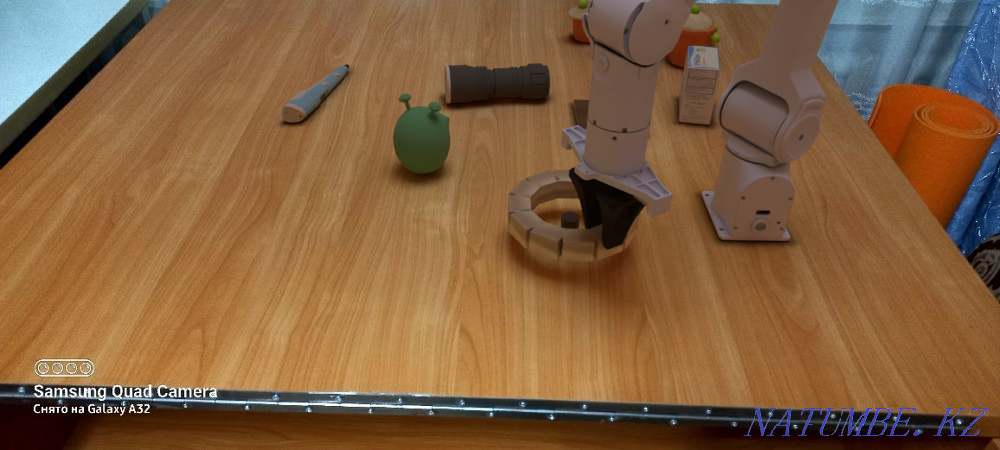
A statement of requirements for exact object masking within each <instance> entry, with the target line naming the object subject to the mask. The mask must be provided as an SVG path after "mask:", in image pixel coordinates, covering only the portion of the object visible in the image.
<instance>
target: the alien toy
mask: <svg viewBox="0 0 1000 450" xmlns="http://www.w3.org/2000/svg"><path fill="white" fill-rule="evenodd" d="M411 98H412V95H411V94H410V93H401V94H400V96H399V97H398V102H401V103H404V105H405V108H406V110H405V111H404V112H403V113H402V114H401V115H400V116H399V117H398V119H397V121H396V123H395V125H394V129H393V134H392V141H393V142H392V143H393V149H394V152H395V155H396V157H397V159H398V161H399V162H400V163H401V165H402V166H403V167H404V168H405V169H406V170H408V171H410V172H412V173H415V174H419V175H423V174H424V175H425V174H430V173H433V172H435V171H437V170H438V169H439V168H440V167H442V165H443V164H444V163H445V162H446V160H447V158H448V156H449V152H450V149H451V133H450V117H449V116H447V115H445V114H442V113H441V112H440V111H441V110H442V105H441V104H439V103H438V102H437V101H432V102H429V103H428V106H425V105H424V106H423V105H418V106H413V107H411V105H410V103H409V102H410V100H411Z"/></svg>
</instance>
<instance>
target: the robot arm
mask: <svg viewBox="0 0 1000 450" xmlns="http://www.w3.org/2000/svg"><path fill="white" fill-rule="evenodd" d="M697 1H698V0H590V1H589V4H588V5H587V7H588V10H587V12H586V13H585V14H583V15H582V26H583V30H584V32H585V34H586V36H587V37H588V39H589V41H590V43H589V45H590V48H589V58H591V61H592V72H591V78H590V79H591V80H590V88H589V89H590V90H589V99H588V100H589V108H588V119H587V129H586V130H585V129H583V128H581V127H580V126H578V125H577V124H576V125H573V126H570V127H566V128H563V129H561V140H560V146H561V147H562V148H563V149H564V150H566V151H570V150H572V152H573V153H574V155H575V158H576V160H577V162H578V163H576V164H575V165H574V166H573V167H571V168H570V169H568V170H569V177H570V179H571V181H572V183H573V185H574V187H575V189H576V192H577V194H578V197H579V199H578V200H579V204H580V208H581V214H582V220H583V224H584V229H590V228H593V227H596V226H599V225H602V242H603V247H604V248H605V249H607V250H609V249H612V248H614V247H617V246H620V245H622V244H623V242H624V240H625V237H626V235H627V233H628V231H629V229H630V227H631V225H632V224H633V222H634V220H635V219H636V217H637V216H638V214H639V213H640V214H641V212H642V211H643V209H644V208H645V207H646V210H645V211H646V212H645V213H647V215H649V216H650V217H651V218H655V217H657V216H661V215H664V214H666V213H669V212H670V210H671V205H672V199H673V192H671V191H669V190H668V189H667V188H666V187H665V186H664V184H663V183H662V182H661V180H660V178H659V177H658V176H657V174H656V173H655V171H654V170H653V168H652V167H651V165H650V164H649V162H648V160H647V159H646V155H647V149H648V143H649V142H648V141H649V135H650V128H651V122H652V118H653V117H652V116H653V109H654V103H655V96H656V91H657V84H658V77H659V71H660V65H661V60H663V59H664V58H665V57H666V56H667V55H669V53H670V52H671V51H672V50H673V49H674V47H675V45H676V44H677V42H678V40H679V37H680V35H681V31H682V28H683V25H684V23H685V22H686V21H687V20H688V18H689V15H690V13H691V10H690V8H691V6H693V5H695V3H696V2H697ZM839 1H840V0H779V3H778V5H777V8H776V10H775V11H776V12H775V13H774V17H773V20H772V22H771V25H770V28H769V31H768V33H767V36H766V39H765V42H764V43H763V47H762V50H761V52H760V55H759V57H758V58H756V59H753V60H750V61H748V62H745V63H743V64H740V65H739V66H737V67H736V68H735V69H734V71H733V72H734V73H733V75H732V77H731V80H730V82H729V84H728V85H727V86H726V88H725V89H724V91H723V92H722V93H721V95H720V97H719V99H718V100H717V104H716V109H715V121H716V124H717V125H718V127H719V128H721V129H722V131H721V136H720V138H721V139H722V140H723V141H724V148H723V153H722V156H721V160H720V165H719V170H718V174H717V178H716V181H715V187H714V190H703V191H701V198H702V200H703V202H704V205H705V208H706V210H707V212H708V214H709V217H710V219H711V222H712V224H713V226H714V229H715V231H716V234H717V237H718V238H719V239H720V240H723V241H774V242H775V241H776V242H781V241H783V242H788V241H790V239H791V234H790V232H789V230H788V229H787V227H786V226H787V223H788V221H789V217H790V213H791V210H792V207H793V204H794V201H795V197H796V190H795V187H794V184H793V181H792V178H791V174H790V172H791V171H790V167H791V163H792V162H794V161H796V160H798V159H800V158H801V157H803V156H804V155H806V154H807V153H808V151H809V150H810V149H811V148H812V146H813V145H814V143H815V142H816V140H817V138H818V136H819V133H820V128H821V117H822V112H823V110H824V106H825V103H826V101H827V96H826V93H825V91H824V89H823V88H822V86H821V85H820V82H819V81H818V78H817V77H816V75H815V74H814V72H813V69H812V68H813V66H814V63H815V61H816V58H817V56H818V54H819V50H820V48H821V46H822V43H823V41H824V38H825V36H826V34H827V31H828V29H829V26H830V24H831V21H832V18H833V16H834V14H835V11H836V9H837V6H838V4H839Z"/></svg>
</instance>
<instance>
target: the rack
mask: <svg viewBox="0 0 1000 450" xmlns="http://www.w3.org/2000/svg"><path fill="white" fill-rule="evenodd" d="M572 103H573V105H572V106H573V111H574V117H575V122H576V126H577V125H578V126H580V127H581V128H583V129H585V130H586V129H587V119H588V108H589V99H573V102H572Z"/></svg>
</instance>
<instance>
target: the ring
mask: <svg viewBox="0 0 1000 450" xmlns="http://www.w3.org/2000/svg"><path fill="white" fill-rule="evenodd" d="M569 170H570V169H553V171H551V169H549V170H545V171H542V172H539V173H535V174H532V175H529V176H526V177H525V178H523V179H521V180H520V181H519V182H518V183H517V184H516V185H515V186H514V187H513V188H512V189H511V190H510V191H509V192H508V195H507V214H506V215H507V230H508V231H509V232H508V233H509V234H510V235H511V236H512V237H513V238H514V239H515V240H516V241H517V242H518V244H520V245H521V246H522V247H523V248H524V249H527V248H528V251H529V252H532V253H535V254H538V255H540V256H543V257H546V258H549V259H551V260H554V261H558V260H559V258H560V260H561V262H593V261H594V259H595V260H596V261H600V260H604V259H605V258H608V257H611V256H614V255H617V254H620V253H622V252H623V250H626V249H627V248H628V246H629V245H630V244H631V242H632V241H633V239H634V238H635V236H636V235H637V232H638V228H639V227H638V226H639V221H640V215H641V212H640V213H639V214H638V216H637V217H636V219H635V220H634V222H633V224H632V225H631V227H630V229H629V231H628V233H627V235H626V237H625V240H624V242H623V244H622V245H620V246H617V247H614V248H612V249H609V250H607V249H605V248H604V247H603V242H602V225H599V226H596V227H593V228H590V229H585V228H579V229H565V228H562V227H560V226H558V225H555V224H553V223H549V222H547V221H544V220H543V219H542V218H541V217H540V216H539V215H538V214H537V213H535V212H534V211H535V210H536V208H537V207H538V206H539V205H541V204H544V203H547V202H550V201H553V200H556V199H567V200H569V199H570V200H573V199H574V200H575V199H577V200H579V197H578V194H577V192H576V189H575V187H574V185H573V183H572V181H571V179H570V177H569Z"/></svg>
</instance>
